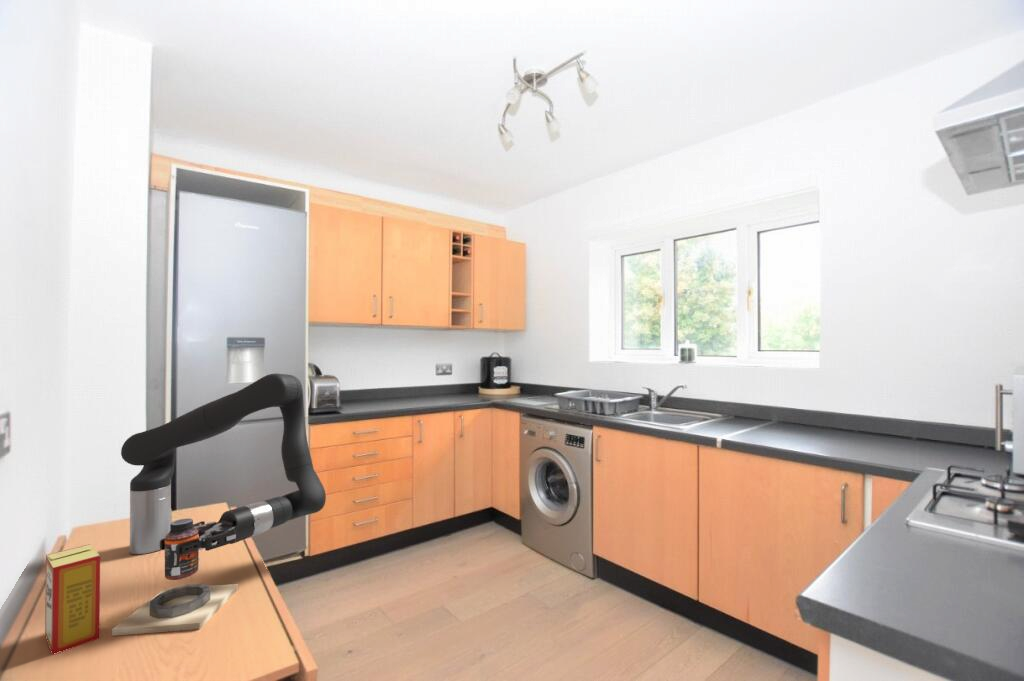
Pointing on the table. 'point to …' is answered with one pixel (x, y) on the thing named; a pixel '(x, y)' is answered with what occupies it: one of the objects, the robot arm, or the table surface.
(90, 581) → the baking soda box
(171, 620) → the birch board
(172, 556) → the supplement bottle
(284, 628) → the table surface
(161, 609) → the ring collar
